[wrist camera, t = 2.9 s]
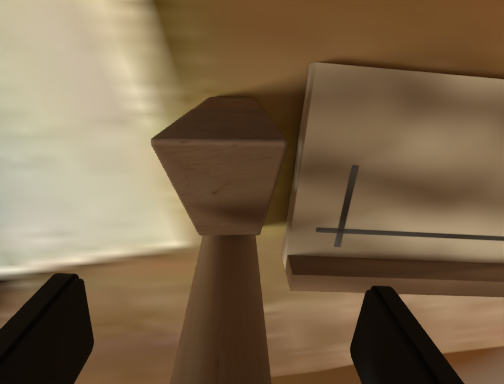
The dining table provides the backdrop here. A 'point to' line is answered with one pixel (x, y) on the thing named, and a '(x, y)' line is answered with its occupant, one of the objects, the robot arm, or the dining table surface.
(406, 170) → the marking board
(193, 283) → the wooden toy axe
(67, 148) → the dining table surface
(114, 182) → the dining table surface
